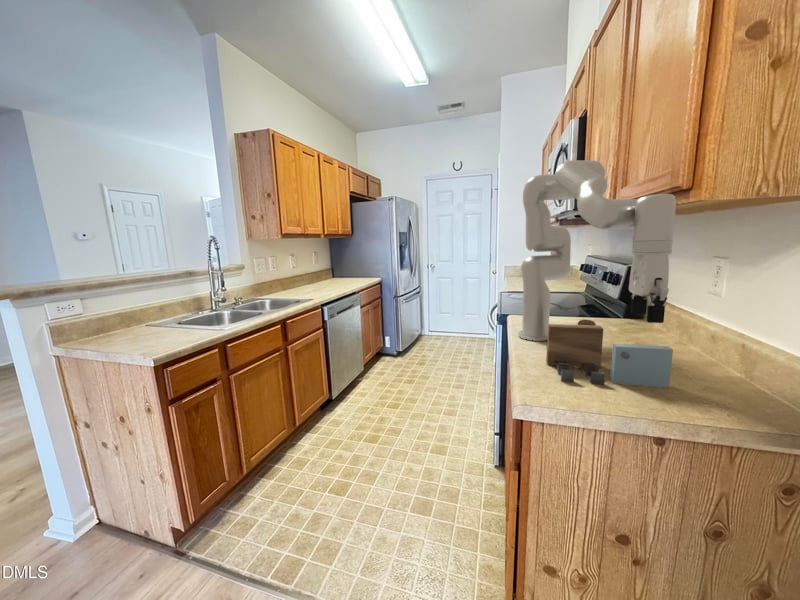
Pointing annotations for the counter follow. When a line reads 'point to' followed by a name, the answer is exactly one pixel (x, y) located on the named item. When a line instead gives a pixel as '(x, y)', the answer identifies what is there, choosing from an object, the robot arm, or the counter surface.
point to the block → (641, 365)
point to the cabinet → (574, 344)
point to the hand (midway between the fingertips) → (646, 318)
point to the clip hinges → (588, 369)
